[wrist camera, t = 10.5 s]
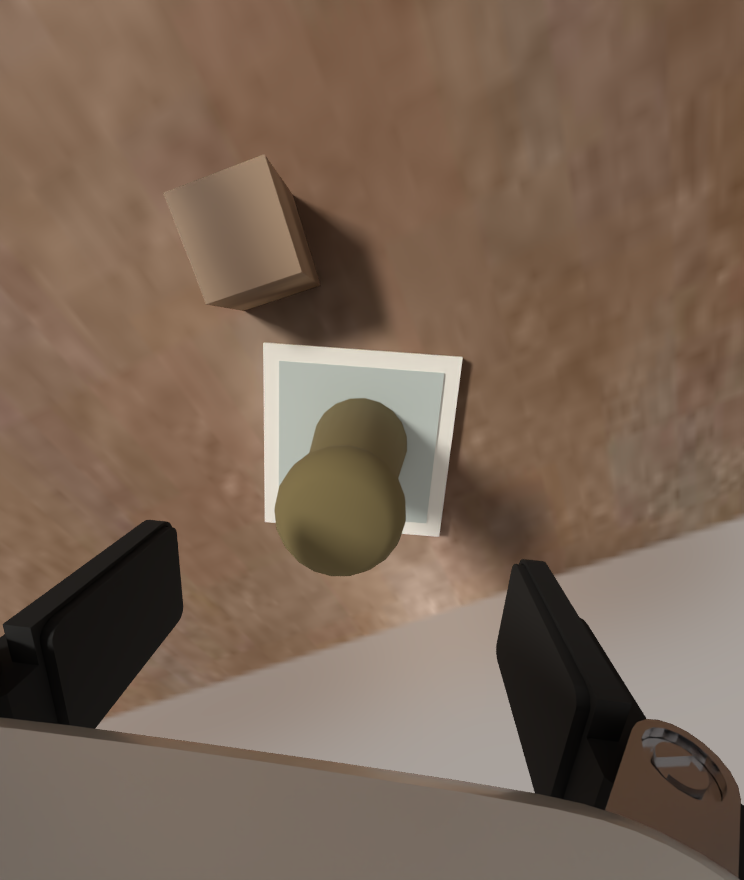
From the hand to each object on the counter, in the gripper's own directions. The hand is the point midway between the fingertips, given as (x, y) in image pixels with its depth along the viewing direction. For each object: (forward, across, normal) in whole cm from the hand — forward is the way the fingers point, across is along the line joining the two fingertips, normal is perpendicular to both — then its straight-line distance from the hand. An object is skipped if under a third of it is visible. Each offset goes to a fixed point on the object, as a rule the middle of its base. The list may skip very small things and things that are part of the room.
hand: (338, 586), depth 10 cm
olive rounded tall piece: (+14, +1, 0) cm, 14 cm away
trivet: (+15, +1, 0) cm, 15 cm away
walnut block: (+15, +7, -11) cm, 20 cm away
